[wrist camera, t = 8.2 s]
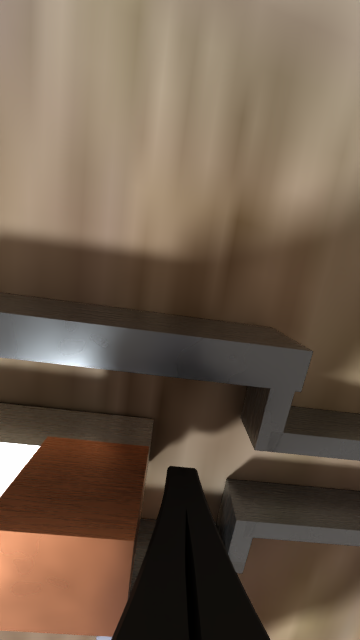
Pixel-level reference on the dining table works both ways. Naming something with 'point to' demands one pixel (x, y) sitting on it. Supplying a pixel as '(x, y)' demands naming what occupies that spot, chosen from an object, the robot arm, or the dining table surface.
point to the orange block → (69, 517)
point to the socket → (215, 366)
